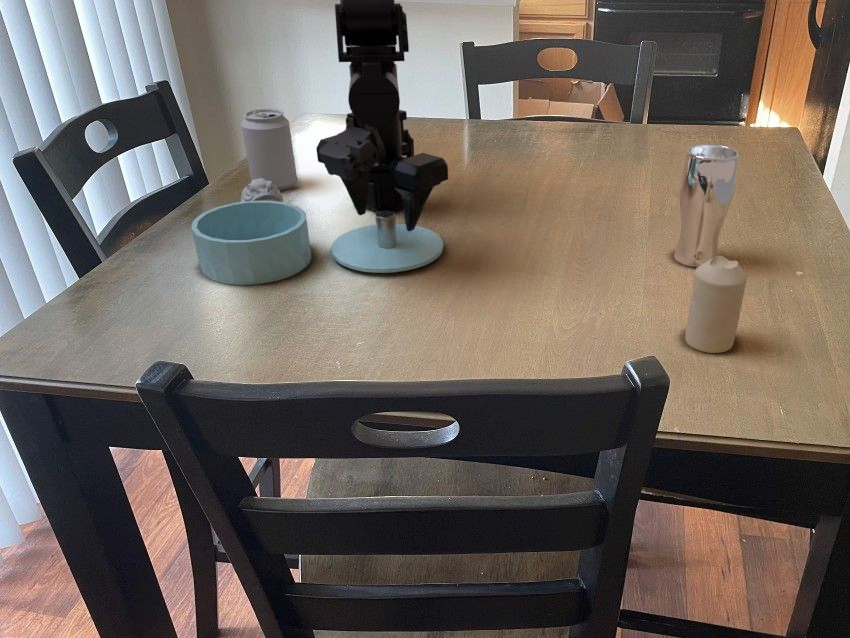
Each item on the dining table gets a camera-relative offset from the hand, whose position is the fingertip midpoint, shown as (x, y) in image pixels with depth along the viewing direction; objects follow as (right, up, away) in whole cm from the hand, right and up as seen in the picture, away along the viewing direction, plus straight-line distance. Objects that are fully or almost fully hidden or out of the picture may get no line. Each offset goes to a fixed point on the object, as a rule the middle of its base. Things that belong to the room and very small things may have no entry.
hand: (385, 222), depth 105 cm
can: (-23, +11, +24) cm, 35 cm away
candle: (+40, -17, -17) cm, 47 cm away
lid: (0, -3, +2) cm, 4 cm away
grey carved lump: (-20, +2, +11) cm, 23 cm away
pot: (-17, -5, -1) cm, 18 cm away
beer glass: (+43, -5, +2) cm, 43 cm away
